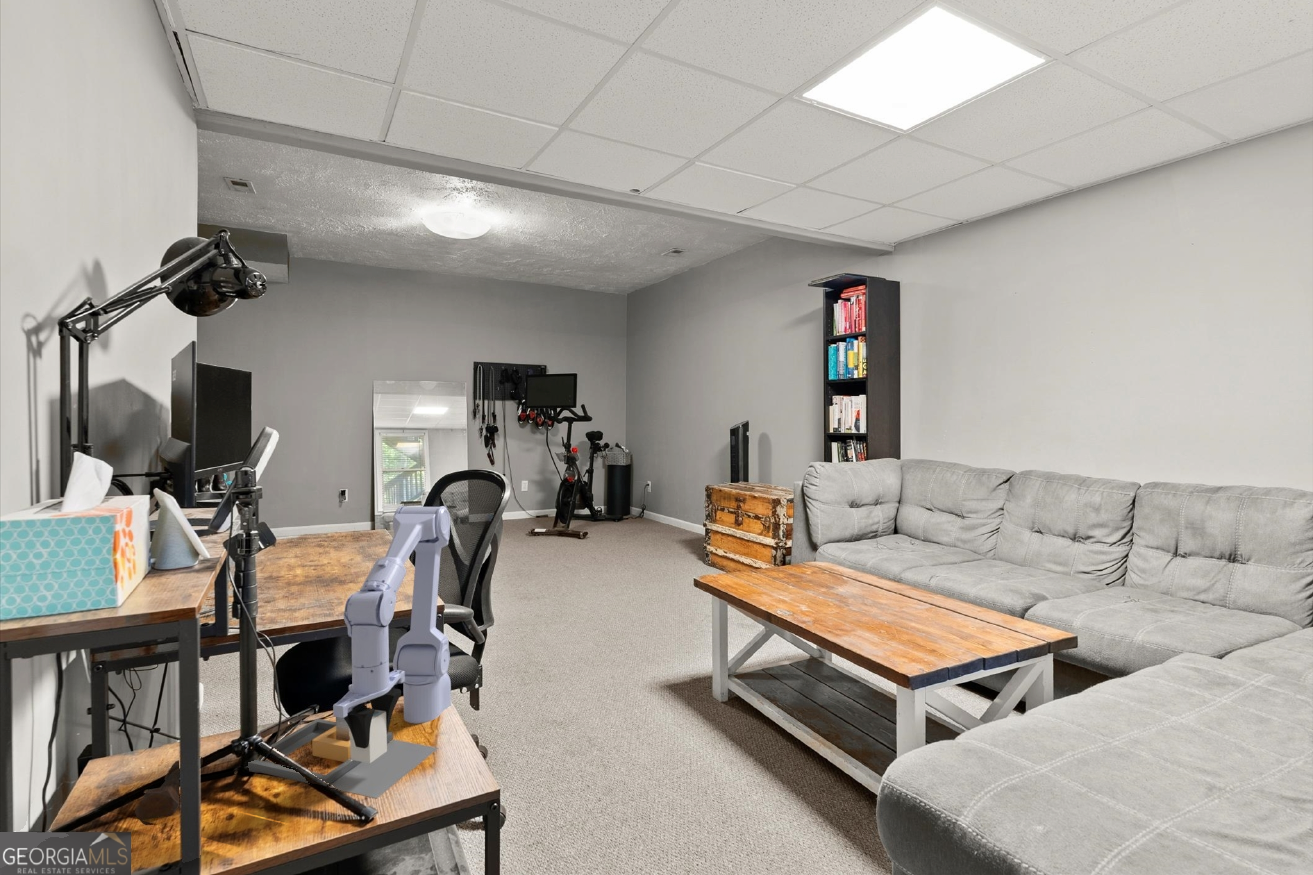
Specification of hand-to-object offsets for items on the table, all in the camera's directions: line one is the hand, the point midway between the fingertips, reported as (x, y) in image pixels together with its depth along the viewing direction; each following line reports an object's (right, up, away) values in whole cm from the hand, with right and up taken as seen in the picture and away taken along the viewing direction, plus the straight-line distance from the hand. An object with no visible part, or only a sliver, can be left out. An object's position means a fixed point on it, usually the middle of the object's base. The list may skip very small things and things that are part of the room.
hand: (371, 739), depth 108 cm
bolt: (-31, -8, -3) cm, 32 cm away
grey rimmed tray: (-12, -7, +7) cm, 16 cm away
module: (-1, -3, 0) cm, 3 cm away
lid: (+1, -7, +3) cm, 8 cm away
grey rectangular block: (-8, -6, +9) cm, 14 cm away
